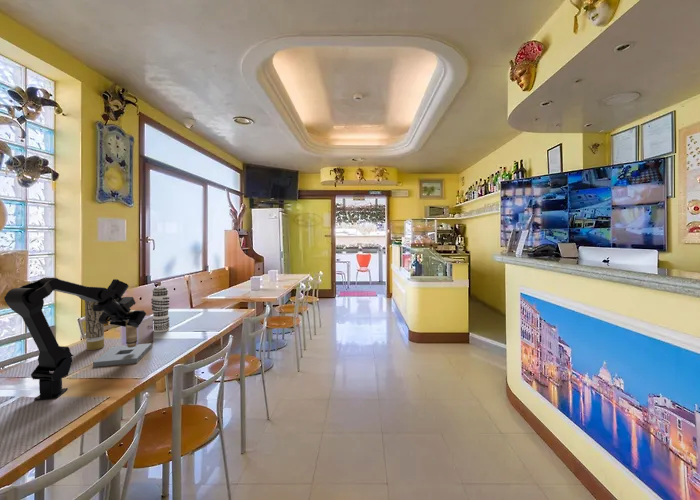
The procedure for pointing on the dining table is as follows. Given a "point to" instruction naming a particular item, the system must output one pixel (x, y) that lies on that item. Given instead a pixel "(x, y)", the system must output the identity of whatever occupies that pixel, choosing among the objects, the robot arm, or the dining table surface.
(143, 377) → the dining table surface
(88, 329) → the grey patterned cylinder
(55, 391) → the robot arm
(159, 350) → the dining table surface
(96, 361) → the grey peg hole board
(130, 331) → the beech peg
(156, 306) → the decorative candle
